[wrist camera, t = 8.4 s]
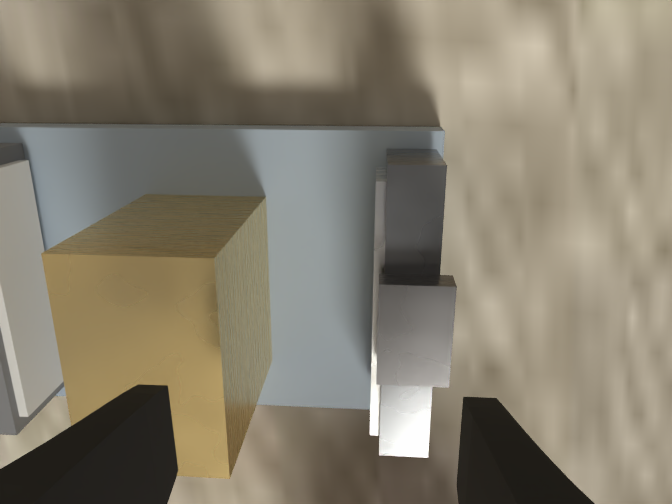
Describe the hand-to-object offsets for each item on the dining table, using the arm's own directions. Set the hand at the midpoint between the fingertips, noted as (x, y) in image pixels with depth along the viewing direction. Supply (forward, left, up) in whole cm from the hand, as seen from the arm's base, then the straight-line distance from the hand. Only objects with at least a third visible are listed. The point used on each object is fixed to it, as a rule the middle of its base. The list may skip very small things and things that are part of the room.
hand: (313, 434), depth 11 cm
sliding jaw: (+2, 0, -8) cm, 8 cm away
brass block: (-5, 0, -8) cm, 10 cm away
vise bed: (-4, 0, -10) cm, 11 cm away
